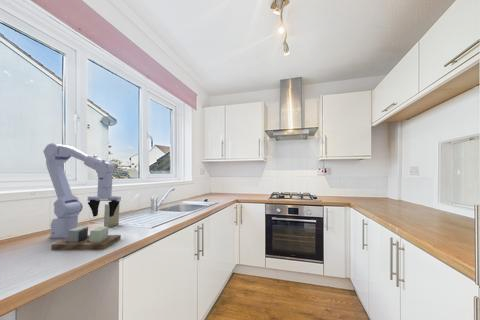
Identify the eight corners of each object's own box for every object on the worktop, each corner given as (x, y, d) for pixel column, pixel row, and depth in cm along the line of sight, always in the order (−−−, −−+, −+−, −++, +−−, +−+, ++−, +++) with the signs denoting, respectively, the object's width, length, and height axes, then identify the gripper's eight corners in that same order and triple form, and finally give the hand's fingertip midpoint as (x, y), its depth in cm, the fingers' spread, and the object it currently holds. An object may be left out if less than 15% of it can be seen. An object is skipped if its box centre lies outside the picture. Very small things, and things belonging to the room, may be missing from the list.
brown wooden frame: (51, 249, 80) (51, 244, 80) (75, 239, 92) (75, 234, 92) (103, 249, 80) (104, 244, 80) (120, 239, 92) (120, 234, 92)
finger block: (88, 247, 83) (89, 230, 83) (98, 242, 89) (99, 226, 89) (98, 247, 83) (99, 230, 84) (107, 242, 89) (108, 226, 89)
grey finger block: (67, 246, 83) (68, 230, 83) (78, 241, 89) (79, 226, 89) (77, 246, 83) (78, 230, 83) (88, 241, 89) (88, 226, 89)
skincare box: (110, 227, 112) (111, 204, 113) (103, 226, 113) (104, 204, 114) (119, 224, 118) (119, 202, 119) (112, 223, 119) (113, 202, 120)
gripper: (83, 187, 93) (81, 218, 93) (115, 188, 94) (113, 218, 93) (94, 186, 101) (92, 214, 100) (123, 187, 101) (122, 215, 100)
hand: (103, 216), depth 97 cm, fingers open, 7 cm apart
